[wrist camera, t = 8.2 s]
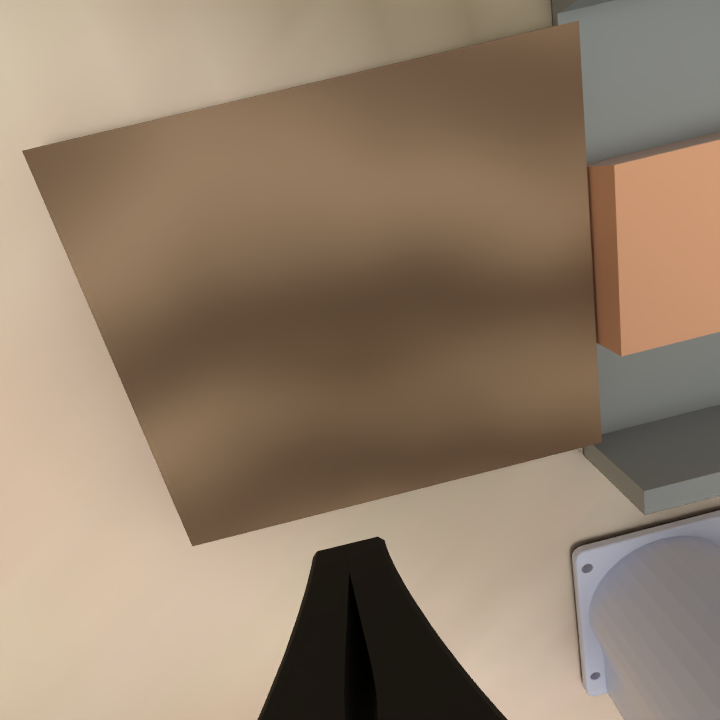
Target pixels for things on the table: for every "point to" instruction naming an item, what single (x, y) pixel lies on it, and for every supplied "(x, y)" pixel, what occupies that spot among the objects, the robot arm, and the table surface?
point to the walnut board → (345, 279)
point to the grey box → (628, 135)
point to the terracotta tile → (656, 244)
